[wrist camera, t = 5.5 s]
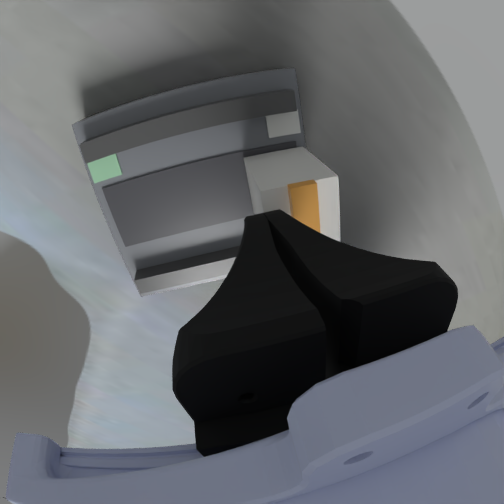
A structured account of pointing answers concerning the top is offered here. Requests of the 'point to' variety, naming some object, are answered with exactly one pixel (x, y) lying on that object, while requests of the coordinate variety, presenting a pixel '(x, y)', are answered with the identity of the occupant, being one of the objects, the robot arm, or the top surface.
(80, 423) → the top surface
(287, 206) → the breaker lever
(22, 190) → the top surface
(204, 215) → the breaker panel
